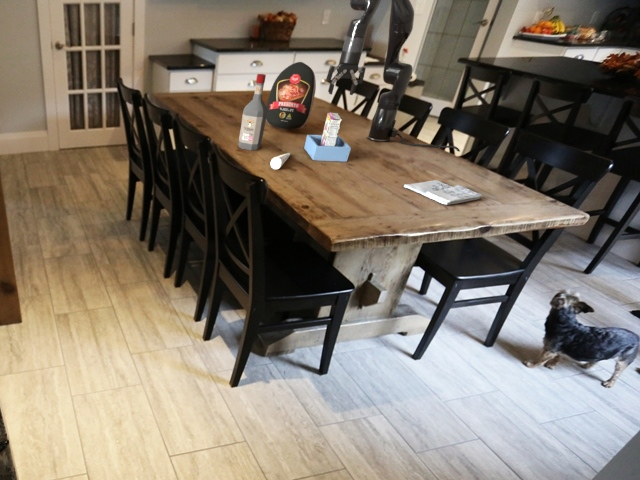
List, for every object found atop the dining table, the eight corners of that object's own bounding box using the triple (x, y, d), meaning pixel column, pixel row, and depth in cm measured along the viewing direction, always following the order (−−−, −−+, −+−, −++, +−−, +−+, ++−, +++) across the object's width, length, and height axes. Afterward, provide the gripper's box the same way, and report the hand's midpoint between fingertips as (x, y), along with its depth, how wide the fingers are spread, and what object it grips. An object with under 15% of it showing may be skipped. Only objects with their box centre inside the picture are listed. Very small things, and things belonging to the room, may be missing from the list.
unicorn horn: (298, 156, 219) (300, 145, 216) (279, 171, 203) (282, 159, 200) (287, 154, 221) (290, 143, 218) (268, 168, 205) (271, 157, 202)
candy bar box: (317, 150, 227) (327, 112, 217) (329, 151, 226) (339, 113, 216) (320, 158, 218) (330, 118, 208) (332, 159, 217) (342, 119, 207)
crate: (335, 149, 229) (339, 135, 225) (346, 161, 215) (351, 147, 211) (304, 148, 229) (307, 134, 225) (313, 160, 215) (316, 146, 212)
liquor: (255, 151, 223) (268, 77, 205) (236, 147, 227) (247, 75, 208) (262, 146, 229) (275, 74, 211) (243, 143, 233) (255, 71, 215)
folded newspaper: (446, 206, 177) (448, 201, 176) (401, 187, 191) (403, 181, 190) (482, 199, 183) (485, 194, 182) (436, 181, 198) (438, 175, 196)
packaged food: (260, 130, 251) (272, 63, 232) (266, 121, 265) (278, 58, 247) (304, 136, 245) (320, 68, 226) (308, 126, 259) (323, 61, 241)
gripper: (367, 49, 199) (355, 93, 209) (331, 47, 200) (321, 91, 210) (373, 51, 194) (360, 97, 204) (336, 50, 194) (325, 95, 204)
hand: (340, 94), depth 207 cm, fingers open, 8 cm apart
